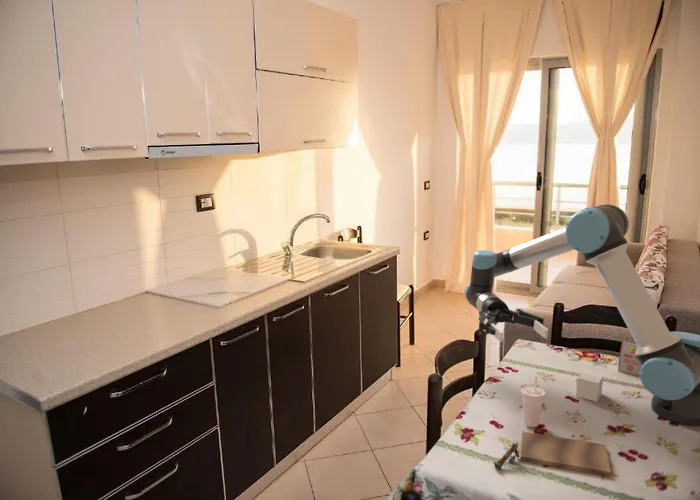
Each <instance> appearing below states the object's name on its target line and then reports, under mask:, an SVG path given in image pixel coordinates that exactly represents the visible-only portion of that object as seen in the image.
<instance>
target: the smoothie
mask: <svg viewBox="0 0 700 500" xmlns="http://www.w3.org/2000/svg"><path fill="white" fill-rule="evenodd" d="M520 395H521V401H522V409H523V410H522V411H523V413H522V414H523V423H524V425H525V426H526V427H530V428H537V427H538V426H539V423H540V420H541V419H540V418H541V413H542V409H543V404H544V400H545V399H546V390H544V389H542V388H541V387H538V376H537V375H535V376H534V386H532V385H527V386H523V387H522V388H521V389H520Z"/></svg>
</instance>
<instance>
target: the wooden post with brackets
mask: <svg viewBox="0 0 700 500" xmlns="http://www.w3.org/2000/svg"><path fill="white" fill-rule="evenodd" d="M518 448H519V443H518V442H514V443H513V444H512V445H511V446H510V448H509V449H508V450H506V451H505V453H504V454H503V456H502V457H501V458H500V459H499V460H497V461H494V462H493V464H494V467H495V468H497V469H499V470H500V471H502V470H503V466H504V463H505V462H506V461H508V463H509V464H511V463H514V461H516V458H519V457H520V452H519V451H518ZM513 453H514V454H513ZM512 454H513V455H512Z"/></svg>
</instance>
